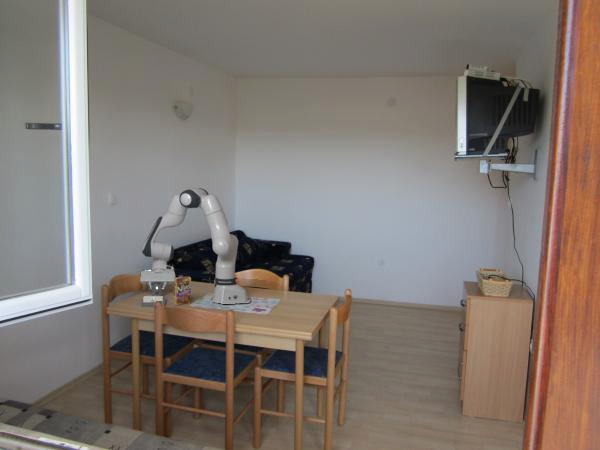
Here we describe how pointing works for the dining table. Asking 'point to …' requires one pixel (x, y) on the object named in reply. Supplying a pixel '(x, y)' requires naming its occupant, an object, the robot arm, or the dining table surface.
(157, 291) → the steel weight
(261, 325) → the dining table surface
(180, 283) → the candy box
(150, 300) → the scale
